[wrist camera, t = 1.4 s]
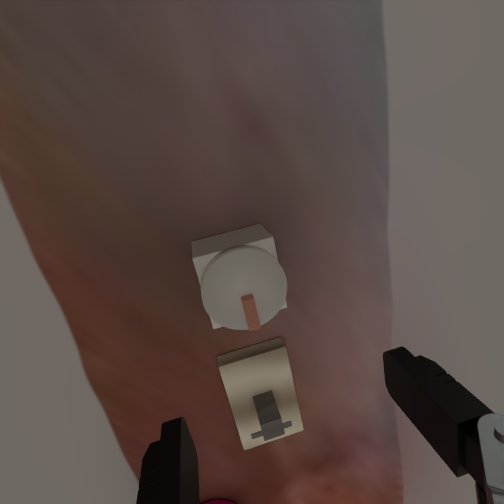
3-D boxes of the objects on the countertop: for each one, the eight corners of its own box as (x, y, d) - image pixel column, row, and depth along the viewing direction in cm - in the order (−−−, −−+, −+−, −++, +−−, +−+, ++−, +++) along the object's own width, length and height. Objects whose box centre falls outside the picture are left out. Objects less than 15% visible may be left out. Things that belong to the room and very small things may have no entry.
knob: (189, 240, 25) (190, 267, 20) (261, 222, 26) (281, 242, 20) (208, 305, 27) (214, 345, 22) (274, 286, 28) (296, 320, 22)
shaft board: (216, 356, 29) (222, 394, 24) (281, 336, 29) (297, 370, 25) (241, 437, 32) (250, 483, 28) (298, 417, 33) (315, 459, 28)
